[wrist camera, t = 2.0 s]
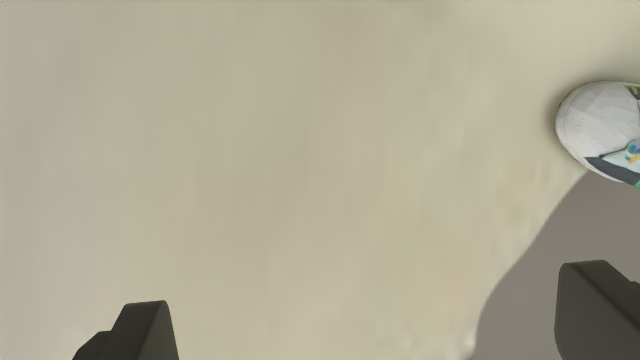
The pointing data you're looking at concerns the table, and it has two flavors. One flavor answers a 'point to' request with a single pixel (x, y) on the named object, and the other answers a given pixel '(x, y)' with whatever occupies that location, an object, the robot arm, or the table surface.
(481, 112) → the table surface
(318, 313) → the table surface
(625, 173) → the sneaker
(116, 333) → the robot arm
